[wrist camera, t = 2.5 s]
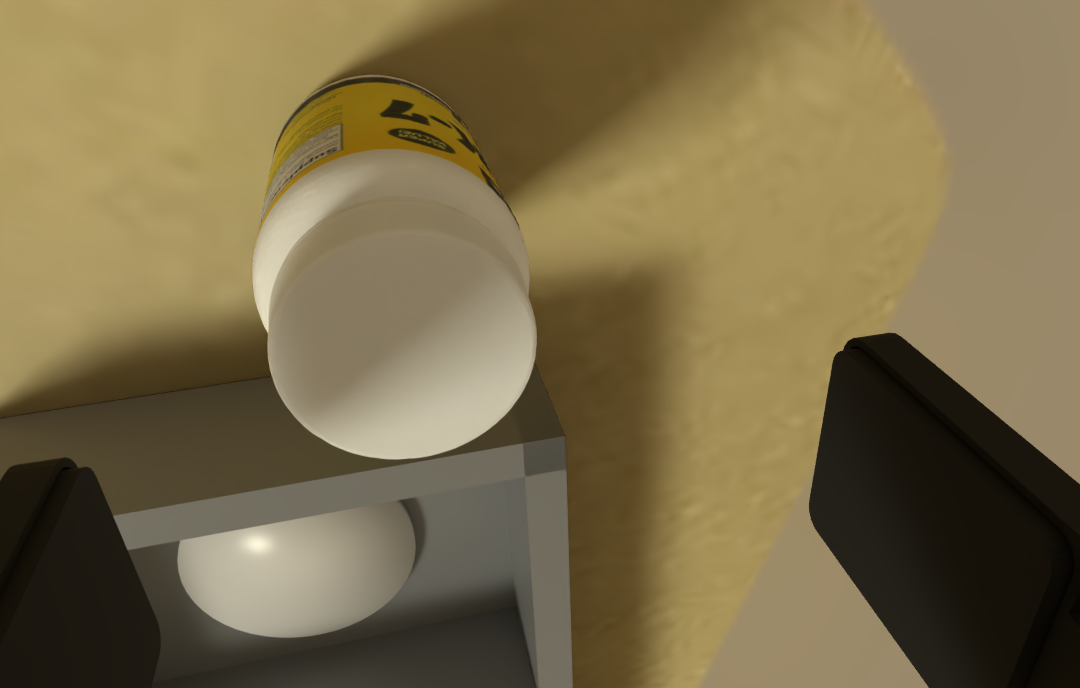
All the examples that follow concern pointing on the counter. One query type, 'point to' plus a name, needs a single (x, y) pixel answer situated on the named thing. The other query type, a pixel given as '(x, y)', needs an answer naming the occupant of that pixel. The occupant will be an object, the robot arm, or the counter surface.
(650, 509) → the counter surface
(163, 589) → the grey divided bin
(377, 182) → the supplement bottle
